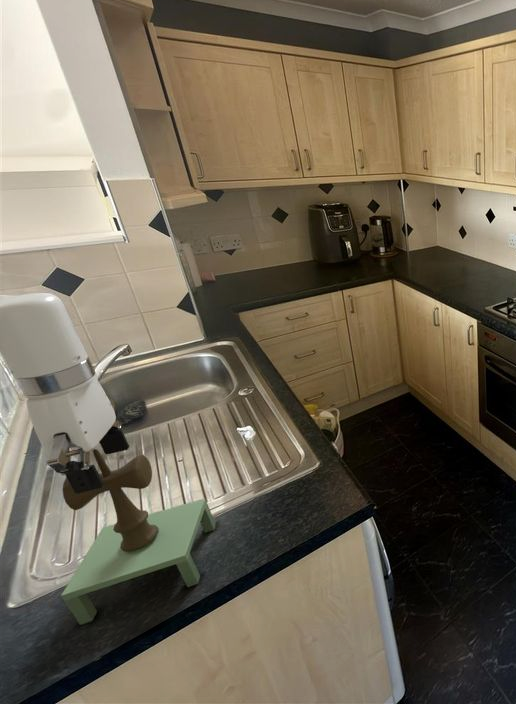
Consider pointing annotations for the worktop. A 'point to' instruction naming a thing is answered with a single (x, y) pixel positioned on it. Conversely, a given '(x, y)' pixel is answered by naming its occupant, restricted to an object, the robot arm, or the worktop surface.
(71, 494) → the kendama
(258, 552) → the worktop surface
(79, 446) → the robot arm
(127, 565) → the spice shelf
